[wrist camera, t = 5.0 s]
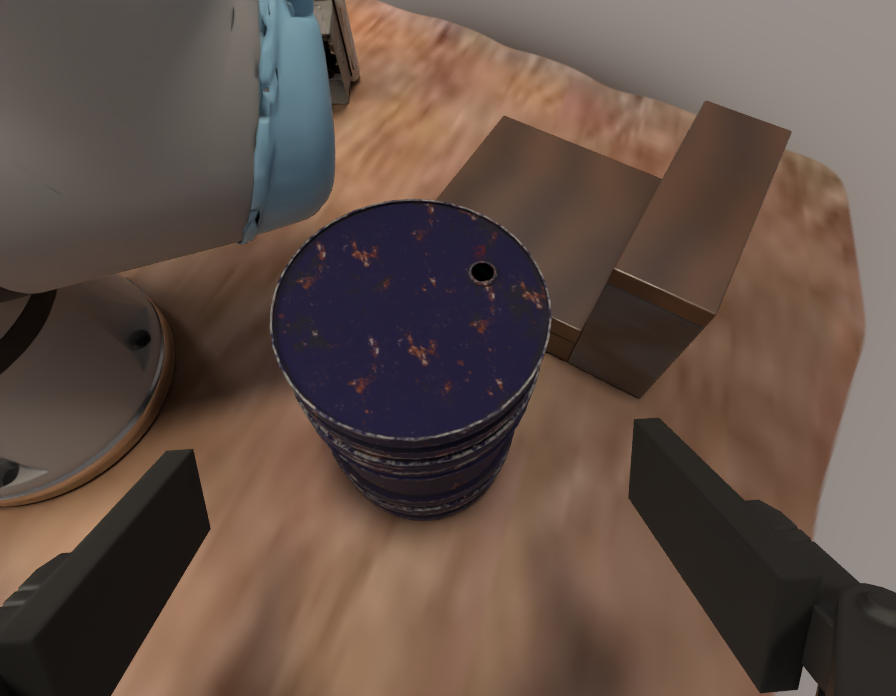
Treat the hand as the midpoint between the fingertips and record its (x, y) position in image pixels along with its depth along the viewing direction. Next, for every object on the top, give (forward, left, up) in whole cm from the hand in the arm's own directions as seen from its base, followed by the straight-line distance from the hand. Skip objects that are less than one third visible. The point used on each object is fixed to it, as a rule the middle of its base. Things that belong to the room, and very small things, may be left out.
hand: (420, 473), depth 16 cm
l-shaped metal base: (-2, +21, -15) cm, 25 cm away
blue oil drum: (-3, +5, -15) cm, 16 cm away
